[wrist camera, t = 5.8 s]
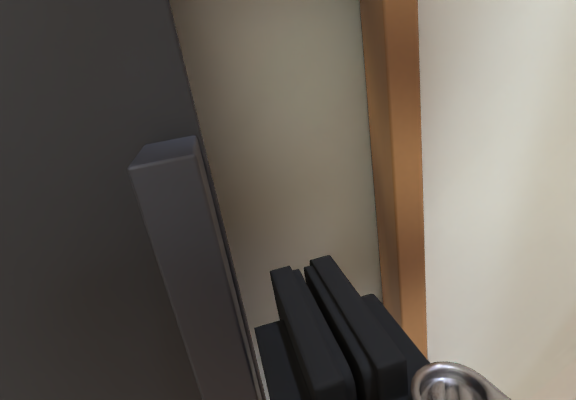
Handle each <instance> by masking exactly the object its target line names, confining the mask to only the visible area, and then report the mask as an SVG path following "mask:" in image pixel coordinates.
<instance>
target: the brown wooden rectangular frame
mask: <svg viewBox="0 0 576 400" xmlns="http://www.w3.org/2000/svg"><path fill="white" fill-rule="evenodd" d="M360 11H361V24H362V37H363V50H364V63H365V76H366V88H367V101H368V114H369V127H370V140H371V153H372V165H373V178H374V191H375V204H376V217H377V230H378V242H379V255H380V268H381V281H382V294H383V305H384V307H385V308H386V309H387V310H388V312H389V313H390V314H391V315H392V317H393V318H394V319H395V320H396V322H397V323H398V324H399V325H400V327H401V328H402V329H403V330H404V332H405V333H406V334H407V335H408V337H409V338H410V339H411V340H412V341H413V343H414V344H415V345H416V346H417V348H418V349H419V350H420V351H421V353H422V354H423V355H424V356H425V358H426V359H427V323H426V287H425V251H424V214H423V178H422V142H421V105H420V69H419V33H418V0H360Z"/></svg>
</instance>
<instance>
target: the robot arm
mask: <svg viewBox="0 0 576 400" xmlns="http://www.w3.org/2000/svg"><path fill="white" fill-rule="evenodd" d="M304 274H305V280H306V282H305V280H304V278H303V276H302V274H301V272H300V270H299V269H296V270H292V269H291V267H290V266H287V267H283V268H279V269H275V270H272V271H270V276H271V281H272V286H273V290H274V295H275V300H276V305H277V309H278V314H279V319H280V320H279V321H276V322H273V323H269V324H266V325H262V326H259V327H256V328H254V329H255V334H256V338H257V343H258V347H259V352H260V356H261V361H262V365H263V370H264V374H265V379H266V383H267V388H268V392H269V397H270V400H511V399H510V398H509V397H507V396H506V395H505V394H504V393H503V392H501V391H500V390H499V389H498V388H497V387H495V386H494V385H493V384H492V383H491V382H489V381H488V380H487V379H486V378H485V377H483V376H482V375H481V374H479V373H478V372H476V371H475V370H473V369H471V368H469V367H466V366H464V365H461V364H458V363H452V362H434V363H431V364H430V363H429V361H428V360H427V359H426V358H425V356H424V355H423V354H422V353H421V351H420V350H419V349H418V348H417V346H416V345H415V344H414V343H413V341H412V340H411V339H410V338H409V337H408V335H407V334H406V333H405V332H404V330H403V329H402V328H401V327H400V325H399V324H398V323H397V322H396V320H395V319H394V318H393V317H392V315H391V314H390V313H389V312H388V310H387V309H386V308H385V307H384V305H383V304H382V303H381V302H380V300H379V299H378V298H377V297H376V296H375V295H374V294H368V295H365V296H362V297H360V295H359V294H358V293H357V291H356V290H355V288H354V287H353V286H352V284H351V283H350V282H349V280H348V279H347V278H346V276H345V275H344V273H343V272H342V271H341V269H340V268H339V267H338V265H337V264H336V263H335V261H334V260H333V258H332V257H331V256H330V255H327V256H324V257H320V258H316V259H313V260H310V266H307V267H304Z"/></svg>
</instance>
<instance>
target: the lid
mask: <svg viewBox="0 0 576 400" xmlns="http://www.w3.org/2000/svg"><path fill="white" fill-rule="evenodd" d="M0 400H266V397H265V393H264V389H263V384H262V380H261V376H260V372H259V368H258V364H257V360H256V356H255V352H254V347H253V343H252V339H251V335H250V331H249V327H248V323H247V319H246V315H245V311H244V306H243V302H242V298H241V294H240V290H239V286H238V282H237V278H236V274H235V269H234V265H233V261H232V257H231V253H230V249H229V245H228V241H227V237H226V232H225V228H224V224H223V220H222V216H221V212H220V208H219V204H218V200H217V196H216V191H215V187H214V183H213V179H212V175H211V171H210V167H209V163H208V159H207V154H206V150H205V146H204V142H203V138H202V134H201V130H200V126H199V122H198V118H197V113H196V109H195V105H194V101H193V97H192V93H191V89H190V85H189V81H188V76H187V72H186V68H185V64H184V60H183V56H182V52H181V48H180V44H179V39H178V35H177V31H176V27H175V23H174V19H173V15H172V11H171V7H170V3H169V0H0Z"/></svg>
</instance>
